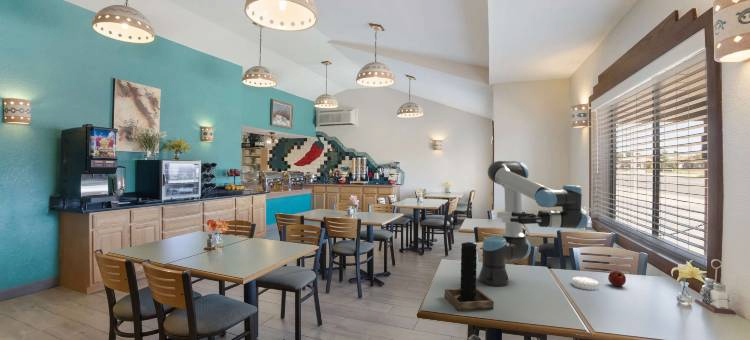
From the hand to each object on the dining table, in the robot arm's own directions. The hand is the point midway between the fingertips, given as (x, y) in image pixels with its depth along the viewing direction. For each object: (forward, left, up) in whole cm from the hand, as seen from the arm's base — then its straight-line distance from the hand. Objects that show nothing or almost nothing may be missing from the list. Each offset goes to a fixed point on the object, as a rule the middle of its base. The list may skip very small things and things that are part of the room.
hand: (499, 216), depth 161 cm
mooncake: (-54, -9, -39) cm, 67 cm away
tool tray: (+17, +4, -38) cm, 42 cm away
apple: (-71, -7, -38) cm, 81 cm away
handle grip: (+17, +4, -37) cm, 41 cm away
